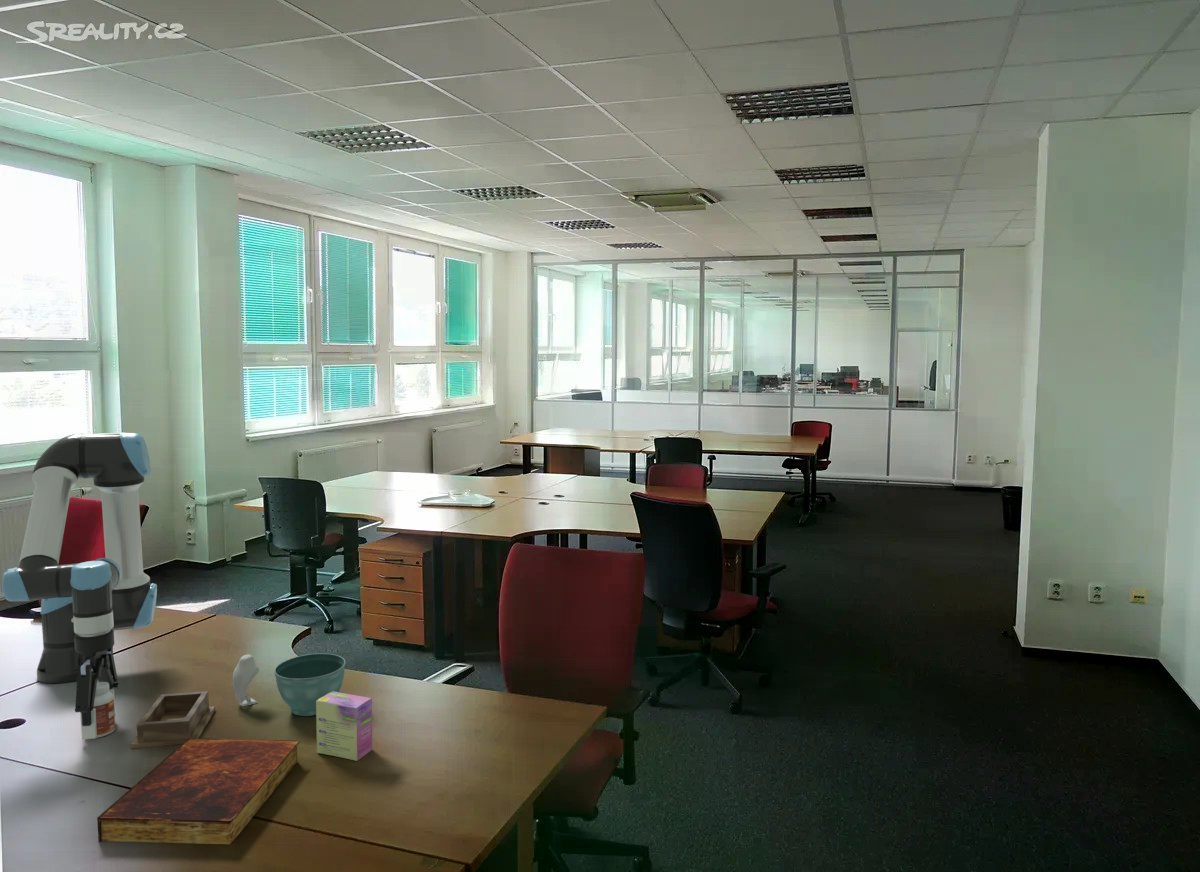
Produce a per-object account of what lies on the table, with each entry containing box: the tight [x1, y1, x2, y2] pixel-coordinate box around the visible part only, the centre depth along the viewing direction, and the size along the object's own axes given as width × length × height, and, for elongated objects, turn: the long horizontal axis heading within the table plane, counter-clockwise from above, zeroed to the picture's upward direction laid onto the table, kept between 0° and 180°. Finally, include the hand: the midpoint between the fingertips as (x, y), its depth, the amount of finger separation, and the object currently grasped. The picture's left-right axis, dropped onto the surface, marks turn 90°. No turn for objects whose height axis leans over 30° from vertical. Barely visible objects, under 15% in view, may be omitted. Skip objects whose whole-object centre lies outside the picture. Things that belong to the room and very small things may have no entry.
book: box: [96, 738, 301, 845], centre depth 155 cm, size 30×24×5 cm
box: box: [315, 691, 373, 762], centre depth 173 cm, size 10×6×12 cm, turn 71°
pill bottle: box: [93, 681, 116, 739], centre depth 181 cm, size 6×6×11 cm
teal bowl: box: [273, 652, 346, 717], centre depth 194 cm, size 16×16×11 cm
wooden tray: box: [130, 690, 216, 749], centre depth 184 cm, size 17×13×5 cm
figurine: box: [232, 654, 260, 708], centre depth 197 cm, size 8×5×12 cm
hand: (99, 727), depth 181 cm, fingers open, 10 cm apart
